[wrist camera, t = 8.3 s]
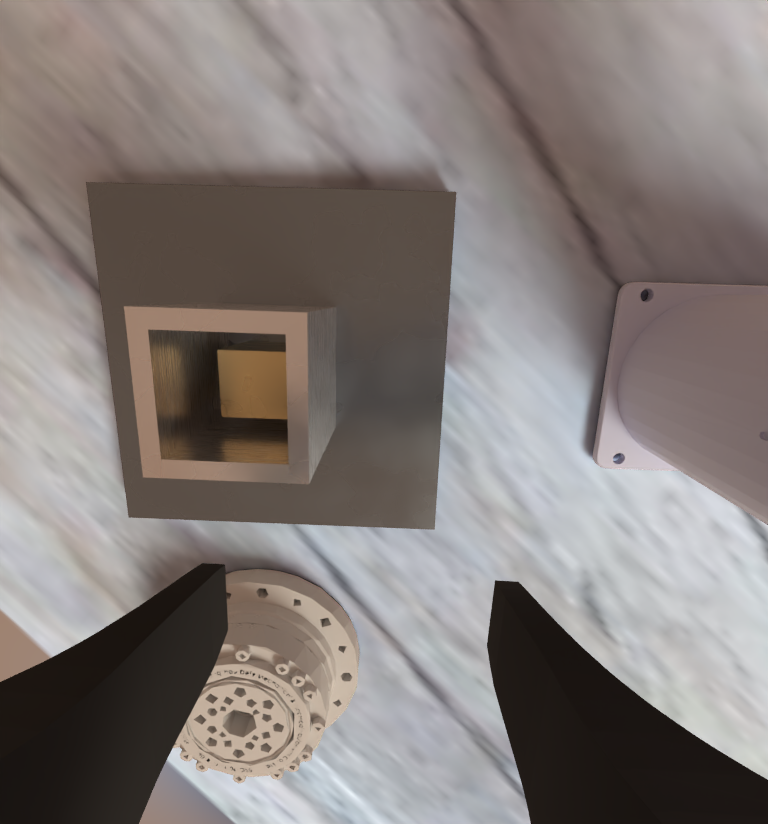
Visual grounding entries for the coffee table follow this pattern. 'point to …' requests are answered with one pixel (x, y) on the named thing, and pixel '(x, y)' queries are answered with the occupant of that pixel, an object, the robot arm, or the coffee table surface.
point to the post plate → (266, 353)
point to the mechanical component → (272, 678)
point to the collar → (200, 392)
